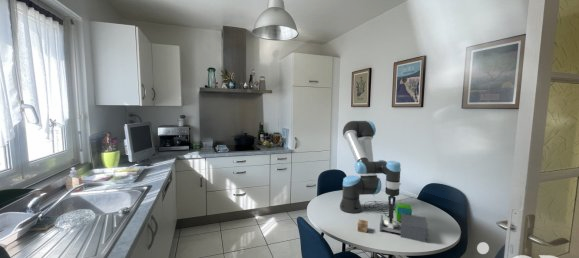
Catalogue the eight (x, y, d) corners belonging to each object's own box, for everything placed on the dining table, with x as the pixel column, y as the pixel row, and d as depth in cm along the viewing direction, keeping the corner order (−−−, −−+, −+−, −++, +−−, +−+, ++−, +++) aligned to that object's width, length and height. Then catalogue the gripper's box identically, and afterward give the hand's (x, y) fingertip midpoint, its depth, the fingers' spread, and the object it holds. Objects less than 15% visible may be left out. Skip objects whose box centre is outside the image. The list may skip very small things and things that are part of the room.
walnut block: (357, 231, 138) (357, 222, 137) (358, 227, 142) (359, 219, 142) (366, 233, 136) (366, 224, 135) (367, 229, 140) (367, 221, 140)
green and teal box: (409, 215, 158) (410, 201, 158) (412, 224, 146) (413, 209, 145) (393, 213, 162) (394, 199, 161) (395, 221, 149) (395, 206, 149)
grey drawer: (379, 230, 137) (379, 223, 137) (380, 222, 148) (381, 215, 147) (403, 235, 132) (403, 228, 132) (403, 226, 143) (403, 219, 142)
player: (400, 237, 132) (401, 223, 131) (400, 225, 144) (401, 213, 144) (427, 242, 126) (428, 228, 125) (424, 230, 139) (425, 217, 138)
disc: (383, 225, 138) (383, 222, 138) (383, 221, 145) (383, 218, 145) (398, 228, 135) (398, 225, 135) (397, 224, 142) (398, 221, 142)
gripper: (399, 194, 127) (397, 234, 129) (399, 183, 146) (397, 217, 148) (384, 192, 130) (382, 231, 132) (386, 181, 149) (384, 215, 151)
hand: (390, 224), depth 140 cm, fingers open, 9 cm apart
